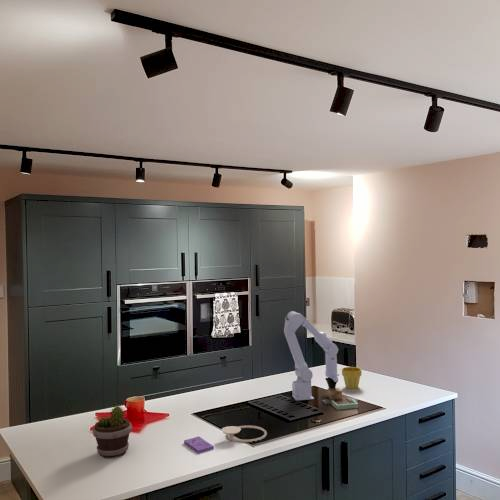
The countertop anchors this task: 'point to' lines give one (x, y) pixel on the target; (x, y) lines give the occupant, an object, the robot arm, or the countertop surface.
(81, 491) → the countertop surface
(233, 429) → the hand towel holder
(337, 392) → the walnut block
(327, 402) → the green u-shaped piece
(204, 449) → the sponges
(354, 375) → the plant pot
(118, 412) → the flowerpot
